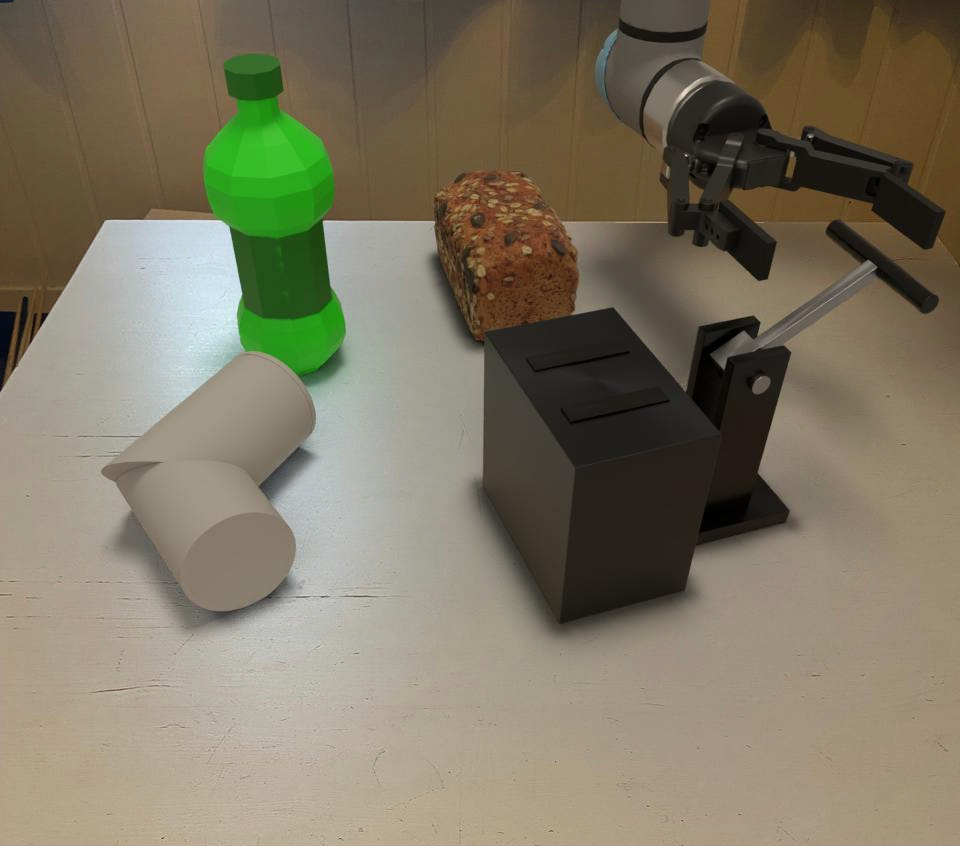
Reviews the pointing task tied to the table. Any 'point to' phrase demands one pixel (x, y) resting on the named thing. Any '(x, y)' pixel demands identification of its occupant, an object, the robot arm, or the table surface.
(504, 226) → the bread
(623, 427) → the toaster
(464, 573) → the table surface
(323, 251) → the plastic bottle
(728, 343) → the lever
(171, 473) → the elbow connector
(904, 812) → the table surface
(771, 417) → the lever bracket
